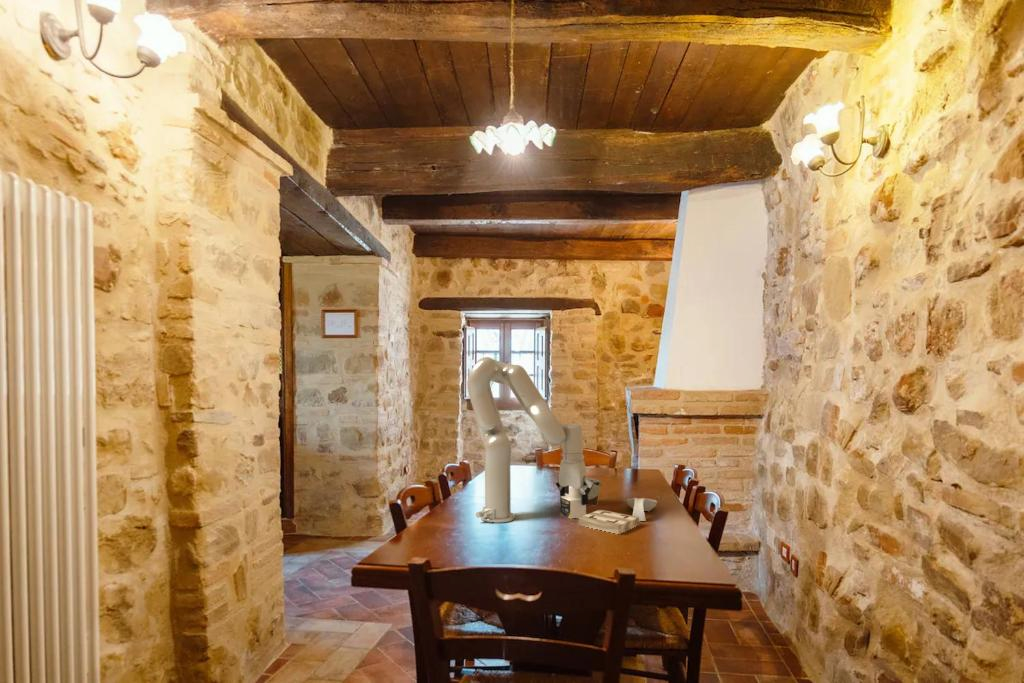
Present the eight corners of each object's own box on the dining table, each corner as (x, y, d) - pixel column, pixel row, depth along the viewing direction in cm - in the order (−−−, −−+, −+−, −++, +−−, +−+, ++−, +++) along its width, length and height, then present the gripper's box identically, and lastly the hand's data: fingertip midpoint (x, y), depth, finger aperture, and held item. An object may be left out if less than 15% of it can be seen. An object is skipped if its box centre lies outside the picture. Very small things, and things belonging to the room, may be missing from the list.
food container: (600, 502, 227) (600, 477, 228) (601, 505, 221) (601, 480, 222) (570, 501, 229) (570, 477, 229) (570, 505, 222) (570, 480, 223)
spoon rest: (627, 505, 223) (627, 487, 223) (657, 507, 219) (657, 489, 220) (623, 521, 200) (622, 501, 200) (656, 523, 197) (656, 503, 197)
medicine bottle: (560, 515, 208) (559, 483, 208) (576, 512, 211) (575, 481, 211) (570, 519, 201) (569, 486, 202) (586, 517, 204) (586, 484, 205)
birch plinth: (618, 534, 183) (618, 525, 183) (578, 525, 193) (578, 516, 194) (639, 525, 193) (639, 516, 193) (600, 517, 204) (600, 508, 204)
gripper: (548, 456, 210) (549, 501, 209) (586, 460, 199) (587, 508, 198) (560, 453, 216) (561, 497, 215) (597, 457, 204) (598, 504, 203)
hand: (573, 502), depth 206 cm, fingers open, 9 cm apart
